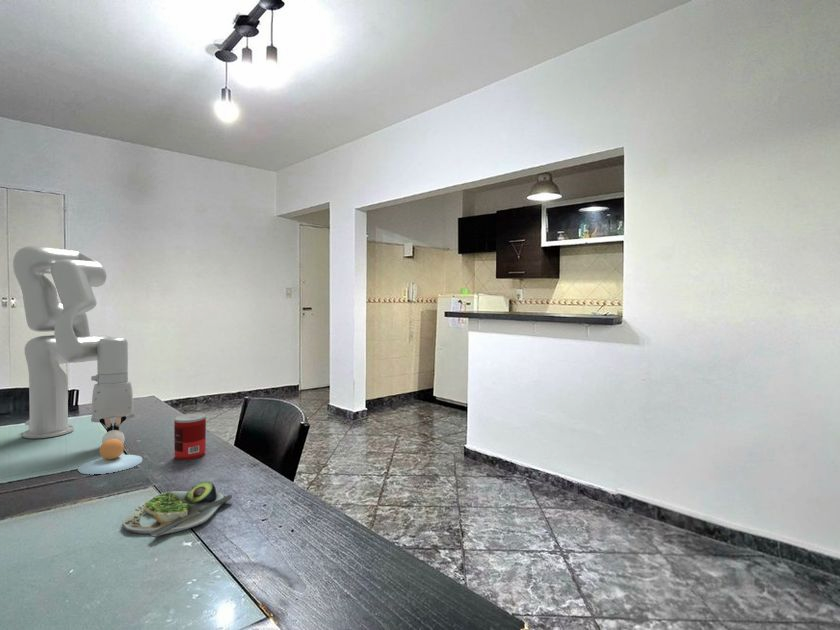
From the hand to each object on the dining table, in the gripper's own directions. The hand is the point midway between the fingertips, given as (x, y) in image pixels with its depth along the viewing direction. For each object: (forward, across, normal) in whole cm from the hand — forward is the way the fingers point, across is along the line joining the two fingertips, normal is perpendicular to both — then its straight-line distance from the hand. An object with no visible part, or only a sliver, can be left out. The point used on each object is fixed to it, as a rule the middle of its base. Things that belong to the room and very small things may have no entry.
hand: (113, 438), depth 134 cm
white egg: (-1, 0, -6) cm, 6 cm away
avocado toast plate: (+2, +12, -59) cm, 60 cm away
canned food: (+2, +18, -23) cm, 29 cm away
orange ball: (-1, 0, -15) cm, 15 cm away
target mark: (+2, 0, -20) cm, 20 cm away
